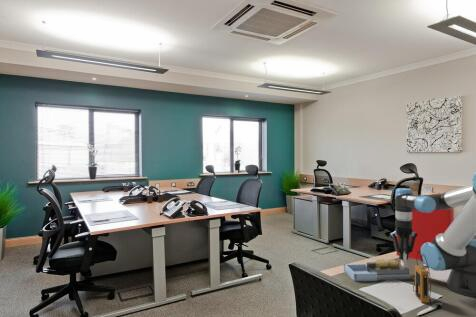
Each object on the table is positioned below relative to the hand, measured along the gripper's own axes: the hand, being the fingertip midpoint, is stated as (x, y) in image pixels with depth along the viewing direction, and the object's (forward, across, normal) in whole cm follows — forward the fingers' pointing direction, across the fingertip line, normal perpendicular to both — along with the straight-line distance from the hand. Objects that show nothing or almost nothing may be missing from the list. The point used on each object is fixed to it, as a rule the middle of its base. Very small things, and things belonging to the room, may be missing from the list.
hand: (403, 265), depth 154 cm
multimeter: (+4, +4, +28) cm, 28 cm away
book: (+5, -24, -21) cm, 32 cm away
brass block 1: (+2, +12, +1) cm, 12 cm away
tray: (+4, +23, +1) cm, 23 cm away
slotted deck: (+4, +9, +1) cm, 10 cm away
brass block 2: (+2, +6, +1) cm, 6 cm away
